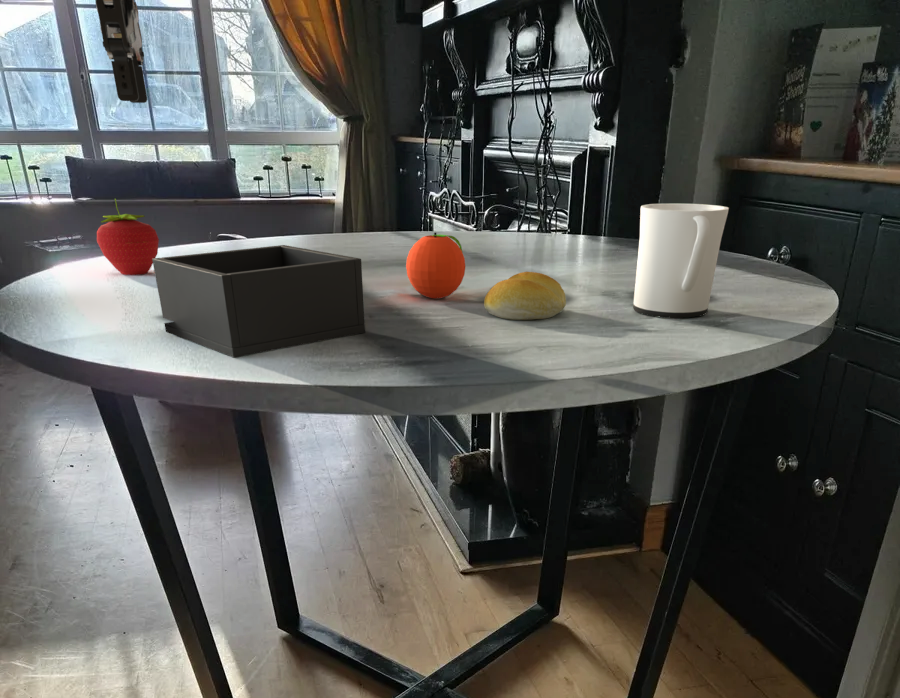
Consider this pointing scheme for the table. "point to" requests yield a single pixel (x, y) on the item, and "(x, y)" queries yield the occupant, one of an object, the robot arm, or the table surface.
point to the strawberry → (128, 243)
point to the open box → (260, 298)
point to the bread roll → (526, 297)
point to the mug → (677, 258)
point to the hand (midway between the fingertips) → (133, 101)
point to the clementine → (436, 265)
